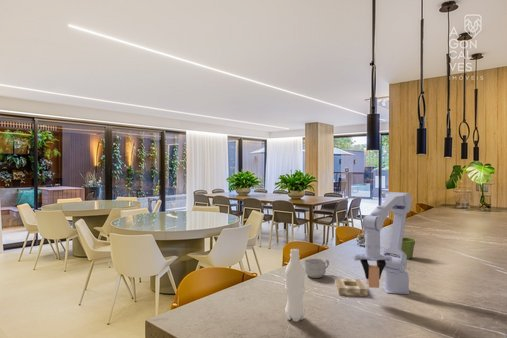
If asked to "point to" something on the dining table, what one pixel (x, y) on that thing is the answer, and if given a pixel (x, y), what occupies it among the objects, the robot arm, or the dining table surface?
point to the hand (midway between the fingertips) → (372, 278)
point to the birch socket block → (351, 287)
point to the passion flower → (360, 238)
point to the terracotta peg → (373, 276)
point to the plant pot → (408, 246)
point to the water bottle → (294, 287)
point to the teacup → (316, 267)
